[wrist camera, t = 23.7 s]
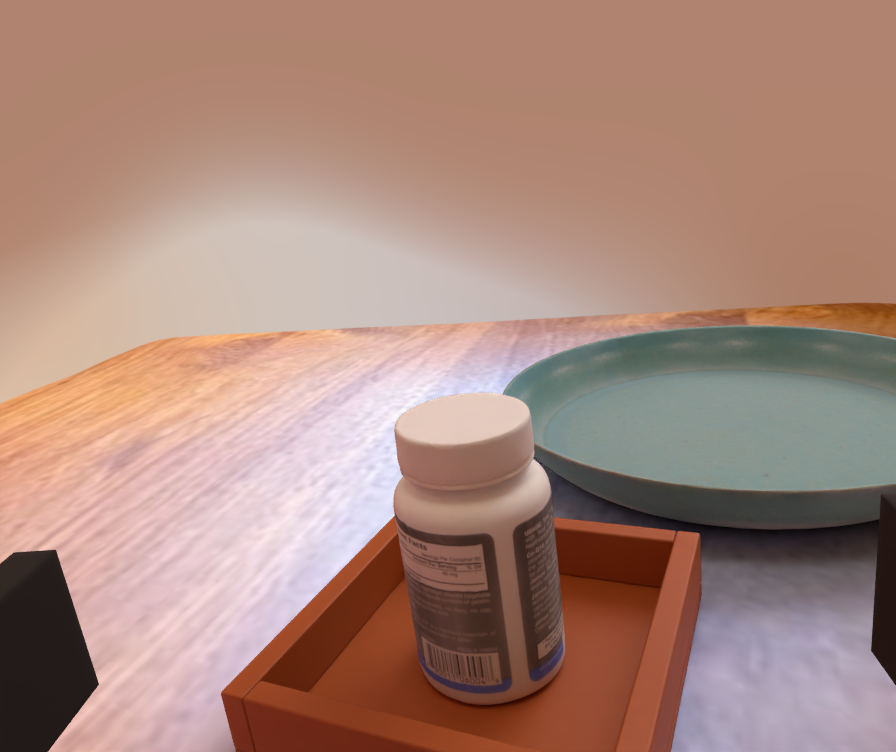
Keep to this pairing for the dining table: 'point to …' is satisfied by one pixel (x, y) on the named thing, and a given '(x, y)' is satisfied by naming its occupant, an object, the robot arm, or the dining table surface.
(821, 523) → the saucer
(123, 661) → the dining table surface
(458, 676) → the pill bottle
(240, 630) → the dining table surface
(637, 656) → the burnt orange tray
